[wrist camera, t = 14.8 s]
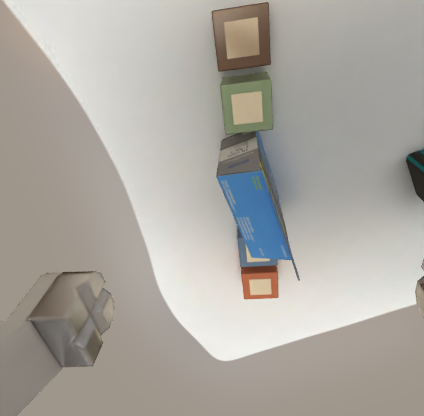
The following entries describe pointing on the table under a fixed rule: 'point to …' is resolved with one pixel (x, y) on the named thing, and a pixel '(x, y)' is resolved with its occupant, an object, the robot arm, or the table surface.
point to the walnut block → (242, 36)
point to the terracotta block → (260, 282)
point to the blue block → (246, 257)
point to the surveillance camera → (417, 171)
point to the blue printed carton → (253, 196)
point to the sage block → (247, 103)
